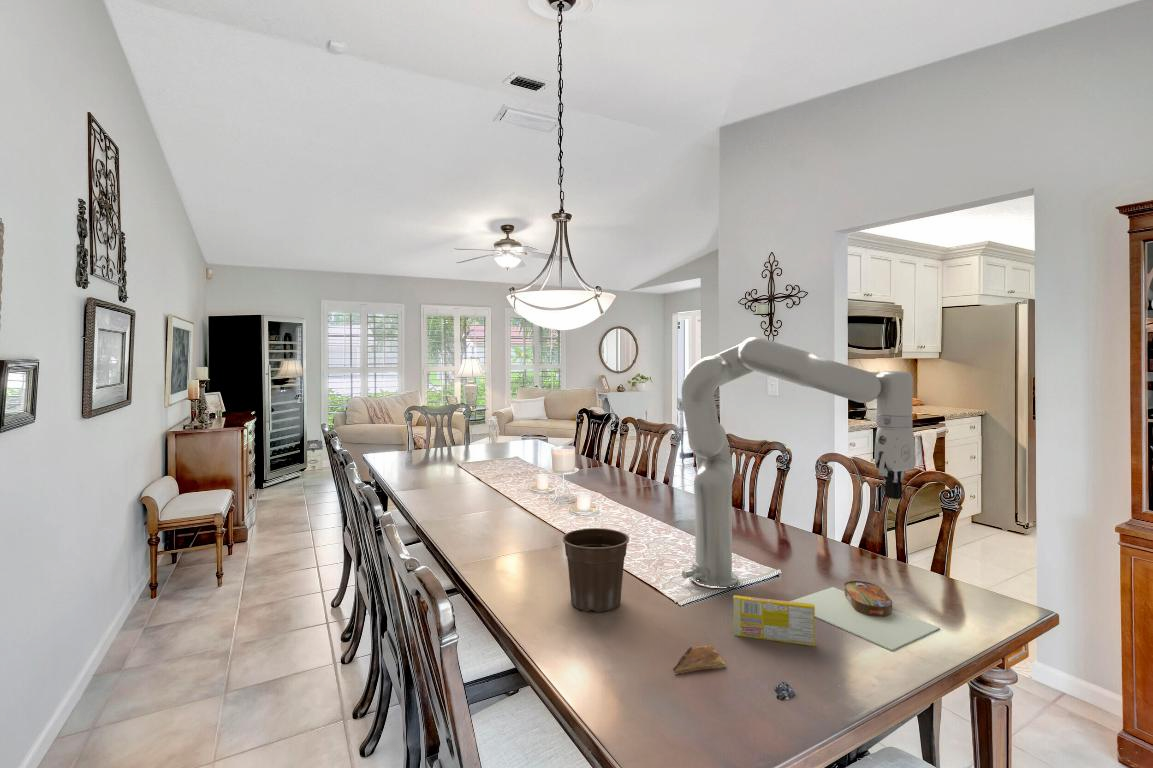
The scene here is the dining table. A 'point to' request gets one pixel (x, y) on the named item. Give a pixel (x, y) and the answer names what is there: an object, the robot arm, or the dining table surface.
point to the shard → (699, 659)
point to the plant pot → (595, 567)
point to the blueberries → (784, 691)
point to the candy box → (774, 620)
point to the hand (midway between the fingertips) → (893, 497)
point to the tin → (868, 598)
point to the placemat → (867, 620)
